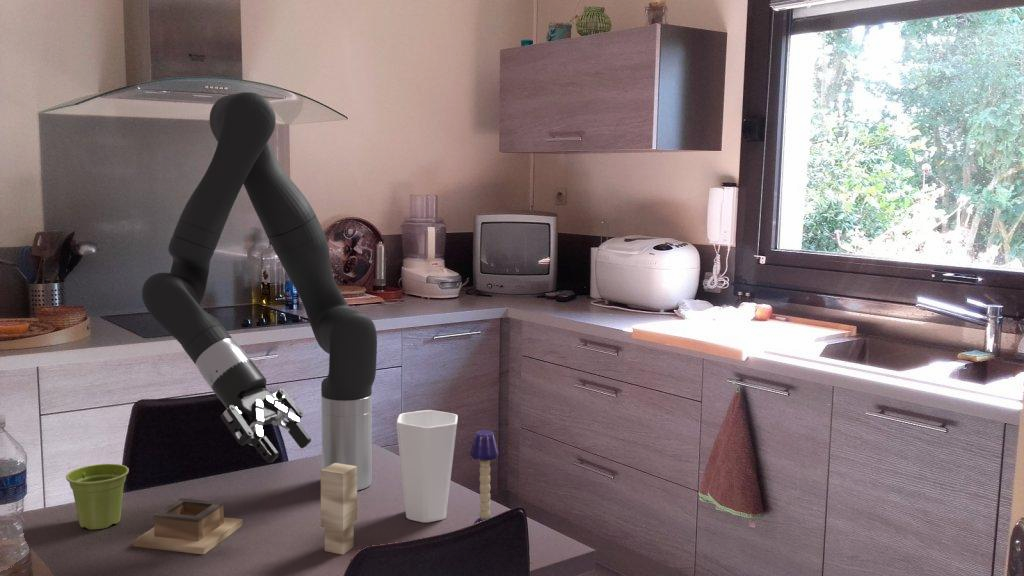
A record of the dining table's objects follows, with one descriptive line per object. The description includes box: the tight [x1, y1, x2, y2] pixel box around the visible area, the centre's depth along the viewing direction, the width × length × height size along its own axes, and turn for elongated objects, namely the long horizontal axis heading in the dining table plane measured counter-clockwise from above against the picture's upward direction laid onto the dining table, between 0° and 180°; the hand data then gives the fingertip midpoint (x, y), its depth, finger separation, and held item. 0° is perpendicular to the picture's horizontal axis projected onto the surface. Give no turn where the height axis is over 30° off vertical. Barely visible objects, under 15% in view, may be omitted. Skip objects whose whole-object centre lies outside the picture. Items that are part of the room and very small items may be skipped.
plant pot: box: [65, 463, 130, 530], centre depth 148 cm, size 9×9×9 cm
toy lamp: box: [469, 429, 499, 524], centre depth 148 cm, size 5×5×17 cm
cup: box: [395, 409, 459, 523], centre depth 154 cm, size 11×10×17 cm
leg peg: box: [320, 463, 358, 555], centre depth 140 cm, size 4×4×13 cm
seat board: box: [132, 497, 244, 555], centre depth 144 cm, size 12×12×4 cm
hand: (291, 451), depth 142 cm, fingers open, 8 cm apart
